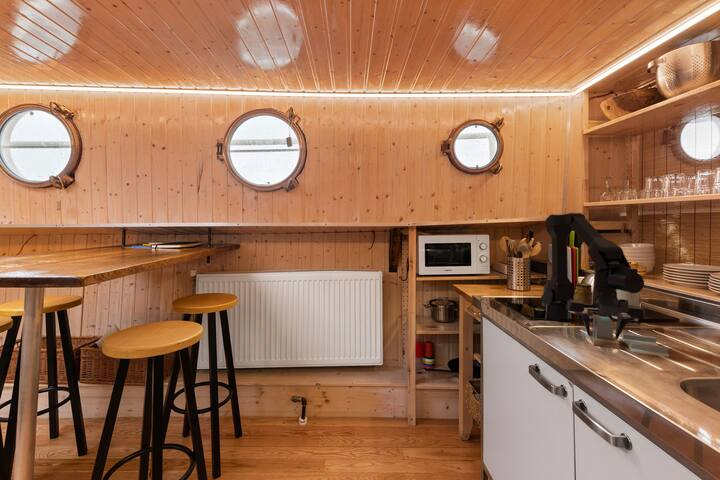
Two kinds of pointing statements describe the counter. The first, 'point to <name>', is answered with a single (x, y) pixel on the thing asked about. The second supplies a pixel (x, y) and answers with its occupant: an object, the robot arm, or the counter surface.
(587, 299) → the condiment
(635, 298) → the travel mug
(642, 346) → the cradle
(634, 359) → the counter surface
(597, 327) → the plug
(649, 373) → the counter surface
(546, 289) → the supplement bottle
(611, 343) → the walnut dock
